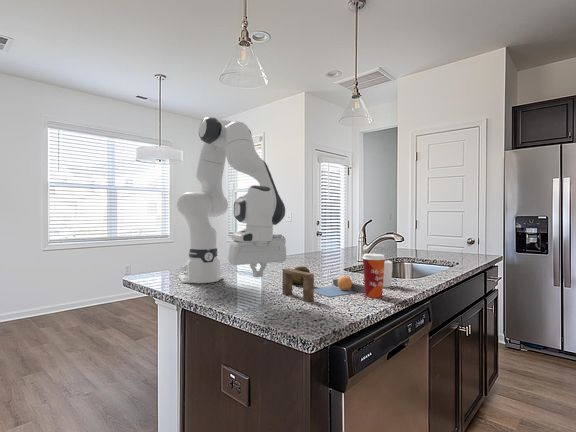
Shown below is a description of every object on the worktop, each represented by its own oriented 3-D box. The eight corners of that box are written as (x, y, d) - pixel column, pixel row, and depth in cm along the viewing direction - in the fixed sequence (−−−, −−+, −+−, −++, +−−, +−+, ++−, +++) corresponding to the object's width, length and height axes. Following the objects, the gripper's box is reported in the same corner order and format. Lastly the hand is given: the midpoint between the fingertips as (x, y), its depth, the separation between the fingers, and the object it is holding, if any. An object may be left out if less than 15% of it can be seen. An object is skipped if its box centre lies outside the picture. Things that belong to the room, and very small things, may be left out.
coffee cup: (375, 299, 118) (375, 256, 118) (357, 295, 125) (357, 254, 125) (390, 296, 123) (390, 254, 123) (372, 292, 130) (372, 252, 130)
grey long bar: (333, 285, 142) (333, 279, 142) (336, 284, 144) (336, 278, 144) (366, 293, 128) (366, 286, 128) (369, 292, 129) (369, 286, 129)
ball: (335, 275, 134) (345, 273, 136) (334, 289, 134) (344, 287, 137) (344, 279, 129) (355, 277, 132) (343, 293, 129) (354, 291, 132)
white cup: (385, 288, 137) (385, 263, 137) (368, 285, 143) (368, 261, 142) (396, 286, 142) (396, 261, 142) (379, 283, 148) (379, 259, 148)
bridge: (306, 302, 115) (307, 274, 115) (282, 293, 127) (282, 269, 127) (313, 300, 117) (313, 273, 117) (289, 292, 128) (289, 268, 128)
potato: (303, 281, 152) (303, 263, 152) (312, 287, 139) (312, 267, 139) (285, 281, 150) (285, 263, 150) (292, 288, 137) (292, 268, 137)
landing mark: (307, 290, 132) (307, 290, 132) (332, 286, 140) (332, 286, 140) (329, 297, 122) (329, 296, 122) (355, 292, 129) (355, 292, 129)
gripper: (280, 233, 121) (279, 272, 122) (226, 234, 110) (225, 277, 110) (290, 235, 116) (289, 275, 116) (235, 236, 105) (234, 281, 105)
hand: (257, 276), depth 113 cm, fingers closed
